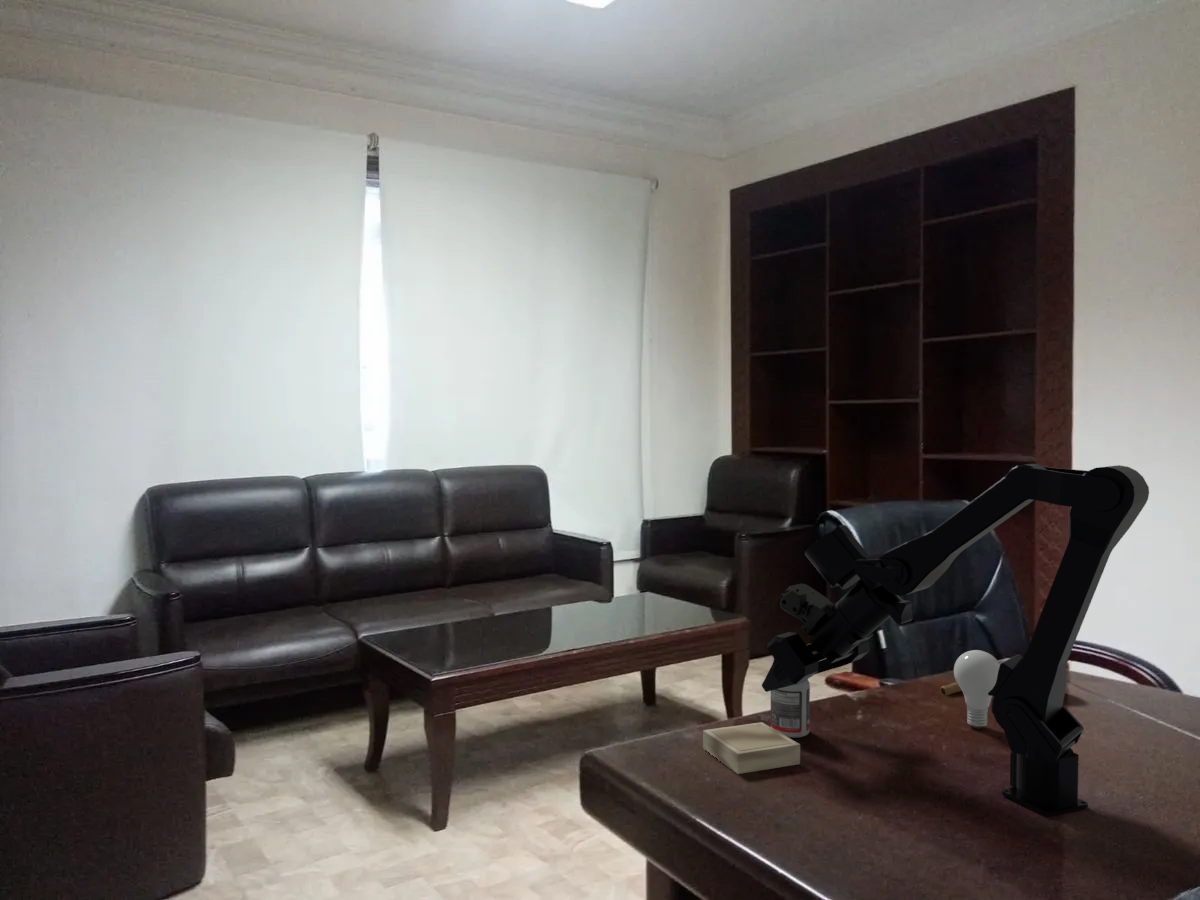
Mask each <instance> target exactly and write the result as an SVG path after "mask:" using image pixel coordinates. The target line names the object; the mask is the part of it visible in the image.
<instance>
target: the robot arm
mask: <svg viewBox="0 0 1200 900" xmlns="http://www.w3.org/2000/svg"><path fill="white" fill-rule="evenodd" d="M1149 488H1150V487H1149V485H1148V483H1147V482H1146V480H1145V477H1144V476H1143V475H1142V474H1140V472H1138V471H1137V470H1136V469H1134V468H1131V467H1130V466H1125V465H1120V464H1118V465H1108V466H1100V467H1094V468H1092V469H1089V470H1082V469H1073V468H1072V469H1071V468H1060V467H1050V466H1049V467H1048V466H1043V465H1041V464H1037V463H1027V464H1017V465H1015V466H1014V467H1011V469H1010V470H1009V471H1007V473H1006V474H1005V475H1004V476H1003V477H1002V478H1001V479H1000V480H998V481H996V482H995V483H994V484H993V485H991V486H990V487H989V488H987V489H986V490H984V491H983V492H982V493H980V494H978V496H977V497H975V498H974V499H972V500H971V501H970V502H968V503H967V504H965V505H964V506H963V507H962V508H961V509H958V511H956V512H955V513H953V514H952V515H951V516H950V517H948V518H947V519H945V520H944V521H943V522H942V523H940V524H939V525H938V526H936V527H935V528H934V529H932V530H930V531H928V532H926V533H924V534H921V535H919V536H916V537H915V538H913V539H910V540H908V541H906V542H904V543H901V544H899V545H897V546H895V547H893V548H891V549H890V550H887V551H885V552H884V553H882V552H880V553H874V554H871V555H870V554H869V553H868V552H867V550H865V549H864V547H863V546H862V545H861V544H860V542H859V541H858V540H857V539H856V538H855V536H854V535H853V532H852V531H851V530H850V528H849V527H848V526H847V525H846V524H844V525H838V526H836V527H835V528H834V529H833V530H831V531H830V532H828V533H826V534H824V535H823V536H821V537H820V538H818V539H816V540H814V541H813V542H812V543H811V544H809V546H808V547H807V548H806V550H805V552H804V555H805V557H806V558H807V560H808V561H810V563H811V564H812V565H813V567H814V568H815V569H816V571H817V572H818V574H820V576H821V577H822V578H823V579H824V581H825V582H826V583H827V584H828V586H829V587H830V588H836V587H840V589H841V590H846V589H848V588H850V587H851V588H850V590H849V591H847V593H845V594H844V595H843V596H841V598H840V599H839V600H838V601H837V602H836V603H835V602H834V603H833V602H831V600H829V598H827V596H824V595H823V594H822V593H820V592H819V591H817V590H816V589H815V588H813V587H811V586H809V585H808V584H805V583H799V584H797V583H796V584H794V585H789V586H788V587H787V588H786V589H785V591H783V593H781V594H779V598H778V599H779V600H780V602H779V605H780V606H779V607H780V609H782V610H783V611H784V612H786V613H788V614H789V615H791V616H792V617H795V618H796V619H798V620H799V621H801V622H803V624H802V625H801V626H800V628H801V629H802V631H803V632H804V633H805V635H809V636H808V640H809V642H810V643H809V644H806V642H805V641H804V640H803V638H802V637H801V636H800V634H799V633H797V632H791V631H788V632H784V633H781V634H778V635H776V636H774V637H773V638H772V639H771V640H770V641H769V642H768V643H767V644H766V648H767V650H768V652H769V653H770V655H771V657H772V658H773V662H772V664H771V666H770V668H769V671H767V674H766V676H765V678H764V680H763V681H762V684H761V687H762V689H763V690H764V691H765V692H766V693H768V692H771V691H772V690H776V689H779V688H783V687H787V686H791V685H796V684H799V683H802V682H804V681H807V680H808V681H809V679H810V678H811V677H813V676H814V675H817V674H820V673H824V672H827V671H830V670H834V669H838V668H841V667H843V666H847V665H849V664H852V663H854V662H855V661H858V660H860V659H862V658H863V657H865V656H866V654H868V653H869V652H870V639H871V638H872V637H873V636H874V633H873V632H874V631H875V630H877V629H878V628H879V627H880V626H881V625H882V624H884V623H885V622H886V621H887V620H888V619H889V618H890V617H891V618H892V620H893V621H894V623H896V624H897V625H903V624H905V623H907V622H911V621H912V620H913V610H912V606H913V602H912V601H911V600H907V599H906V600H904V599H903V598H902V596H907V595H910V594H913V593H916V592H919V591H920V592H921V591H923V590H925V589H928V588H930V587H931V586H932V585H934V584H935V583H936V582H937V581H938V580H939V579H940V578H941V577H942V575H943V574H944V573H945V572H946V571H948V570H949V568H950V566H951V565H952V563H953V562H954V560H955V559H956V558H957V557H958V556H959V555H960V554H961V553H962V552H963V551H964V550H966V549H967V548H969V547H970V546H971V545H973V544H974V543H976V542H978V540H980V539H981V538H982V537H984V536H986V535H987V534H989V533H990V532H992V531H993V530H994V529H995V528H997V527H998V526H1000V525H1001V524H1002V523H1004V522H1005V521H1007V520H1008V519H1009V518H1011V517H1012V516H1013V515H1015V514H1016V513H1018V512H1020V511H1021V510H1022V509H1023V508H1025V507H1027V506H1028V505H1029V504H1031V503H1032V502H1033V501H1039V502H1042V503H1047V504H1053V505H1057V506H1058V505H1059V506H1063V507H1069V508H1070V511H1069V536H1068V537H1069V539H1068V543H1067V546H1066V547H1065V550H1064V554H1063V556H1062V558H1061V561H1060V563H1059V566H1058V569H1057V571H1056V574H1055V576H1054V579H1053V582H1052V584H1051V586H1050V589H1049V592H1048V594H1047V597H1046V599H1045V603H1044V605H1043V607H1042V610H1041V612H1040V615H1039V618H1038V620H1037V622H1036V626H1035V628H1034V630H1033V633H1032V636H1031V638H1030V641H1029V643H1028V645H1027V648H1026V650H1025V652H1024V654H1023V655H1021V654H1019V653H1018V654H1016V655H1014V656H1012V657H1010V658H1008V659H1007V660H1005V661H1003V662H1001V663H999V664H1000V667H999V670H998V676H997V681H996V684H995V686H994V687H993V689H992V690H991V691H990V692H989V693H988V695H989V696H992V699H991V703H990V705H991V706H990V710H991V714H992V715H993V717H994V719H995V721H996V722H997V724H998V725H999V726H1000V728H1001V729H1002V730H1003V731H1004V735H1005V737H1006V740H1007V744H1008V746H1009V749H1010V754H1009V755H1010V760H1009V761H1010V764H1009V785H1010V787H1008V788H1003V789H1001V795H1002V796H1005V797H1006V798H1009V799H1011V800H1012V801H1015V802H1017V803H1019V804H1021V805H1023V806H1025V807H1027V808H1029V809H1031V810H1033V811H1035V812H1037V813H1039V814H1041V815H1043V816H1045V817H1046V816H1047V817H1048V816H1049V817H1050V816H1055V815H1060V814H1064V813H1065V814H1066V813H1069V812H1074V811H1078V810H1083V809H1087V808H1089V803H1088V801H1086V800H1083V799H1081V798H1079V754H1077V753H1076V752H1074V750H1073V749H1072V746H1074V745H1077V744H1078V743H1079V741H1080V738H1081V737H1082V735H1083V732H1084V730H1085V729H1084V726H1083V725H1082V724H1081V722H1080V721H1079V720H1078V719H1077V718H1076V717H1075V715H1073V714H1072V712H1070V710H1069V709H1068V708H1067V707H1066V706H1065V705H1064V699H1065V693H1066V688H1067V663H1068V660H1069V658H1070V655H1071V652H1072V650H1073V647H1074V645H1075V643H1076V640H1077V637H1078V635H1079V632H1080V630H1081V628H1082V625H1083V623H1084V620H1085V617H1086V615H1087V612H1088V610H1089V608H1090V606H1091V603H1092V601H1093V598H1094V595H1095V593H1096V590H1097V587H1098V585H1099V583H1100V580H1101V578H1102V575H1103V573H1104V570H1105V568H1106V566H1107V563H1108V561H1109V558H1110V556H1111V554H1112V552H1113V550H1114V549H1115V547H1116V546H1117V544H1119V542H1120V541H1121V540H1122V538H1123V537H1124V536H1125V534H1126V533H1127V532H1128V531H1129V529H1130V528H1131V527H1132V525H1133V524H1134V522H1135V521H1136V520H1137V517H1139V515H1140V513H1141V511H1142V510H1143V508H1144V507H1145V505H1146V504H1147V502H1148V500H1149V496H1150V489H1149ZM853 585H854V586H853ZM852 586H853V587H852ZM853 652H854V653H853Z"/></svg>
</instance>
